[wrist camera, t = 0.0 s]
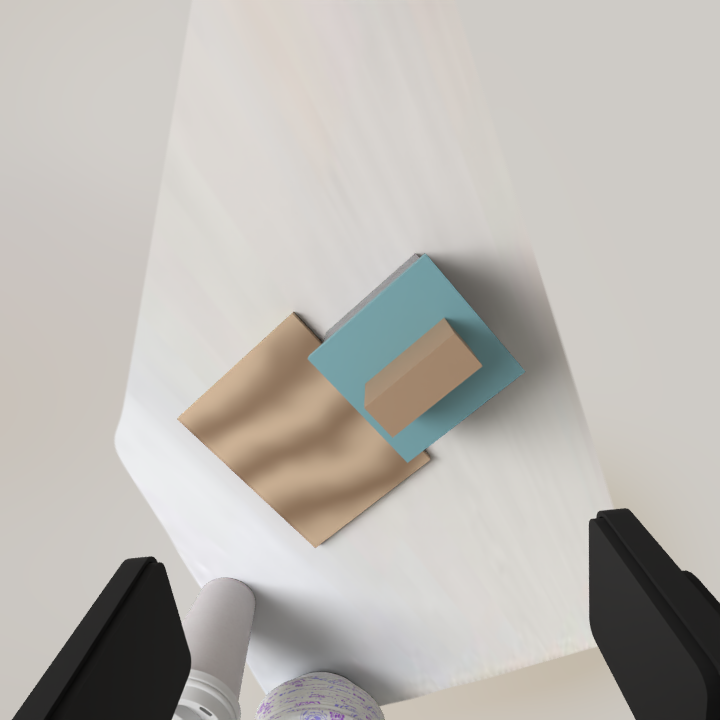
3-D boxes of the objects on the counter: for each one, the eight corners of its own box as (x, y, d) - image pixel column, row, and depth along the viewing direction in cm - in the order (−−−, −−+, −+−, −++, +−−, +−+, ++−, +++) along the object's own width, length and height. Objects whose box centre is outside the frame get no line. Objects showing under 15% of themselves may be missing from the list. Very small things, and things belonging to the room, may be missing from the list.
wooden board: (180, 415, 50) (177, 418, 50) (293, 311, 47) (292, 313, 46) (316, 543, 54) (315, 548, 54) (429, 455, 51) (430, 459, 50)
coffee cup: (282, 620, 58) (253, 757, 43) (209, 643, 59) (156, 784, 45) (246, 555, 55) (202, 677, 41) (170, 581, 56) (101, 708, 42)
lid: (311, 350, 41) (298, 380, 34) (423, 251, 39) (434, 261, 32) (405, 449, 44) (412, 496, 37) (516, 362, 41) (546, 394, 34)
